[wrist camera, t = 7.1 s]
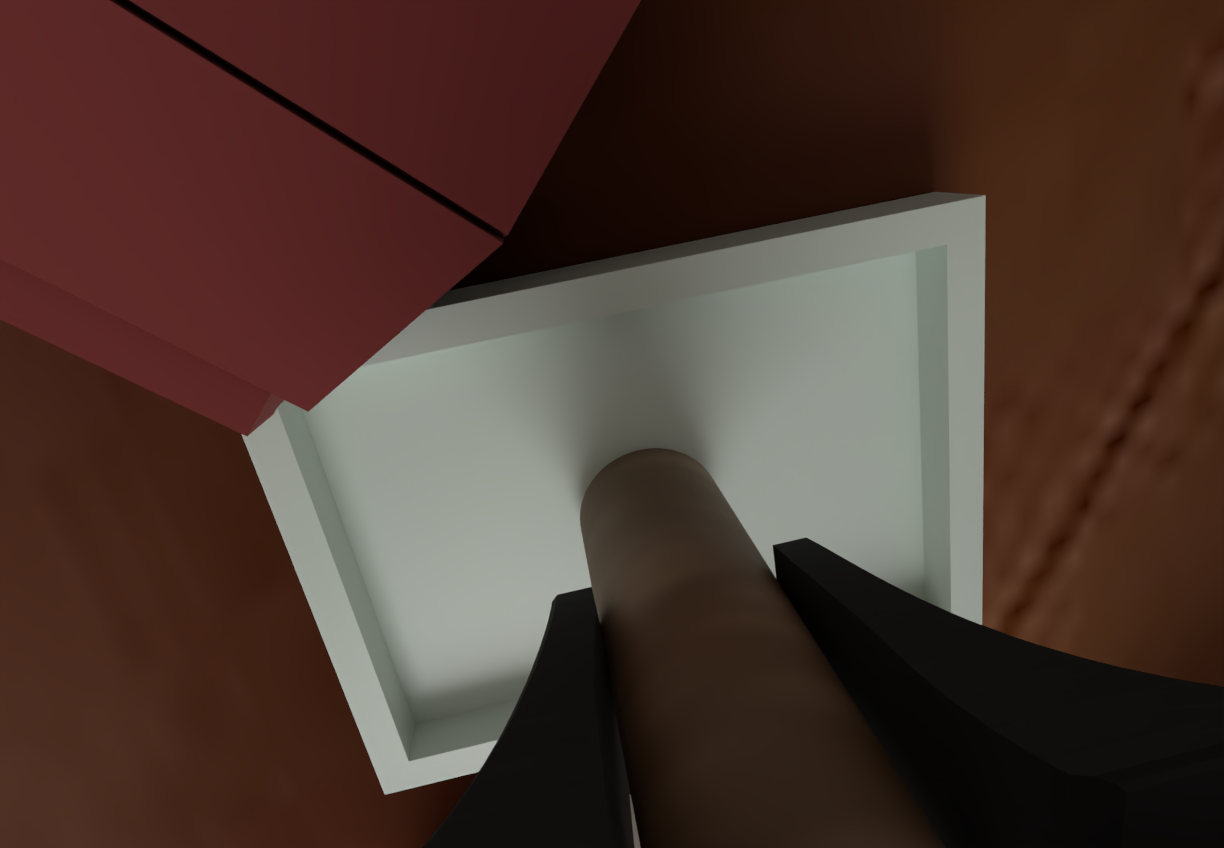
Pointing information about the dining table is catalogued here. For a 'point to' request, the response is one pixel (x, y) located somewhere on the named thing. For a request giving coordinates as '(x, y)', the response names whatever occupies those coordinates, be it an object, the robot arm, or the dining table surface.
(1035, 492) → the dining table surface
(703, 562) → the dowel
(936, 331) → the tray
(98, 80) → the dark red slab
